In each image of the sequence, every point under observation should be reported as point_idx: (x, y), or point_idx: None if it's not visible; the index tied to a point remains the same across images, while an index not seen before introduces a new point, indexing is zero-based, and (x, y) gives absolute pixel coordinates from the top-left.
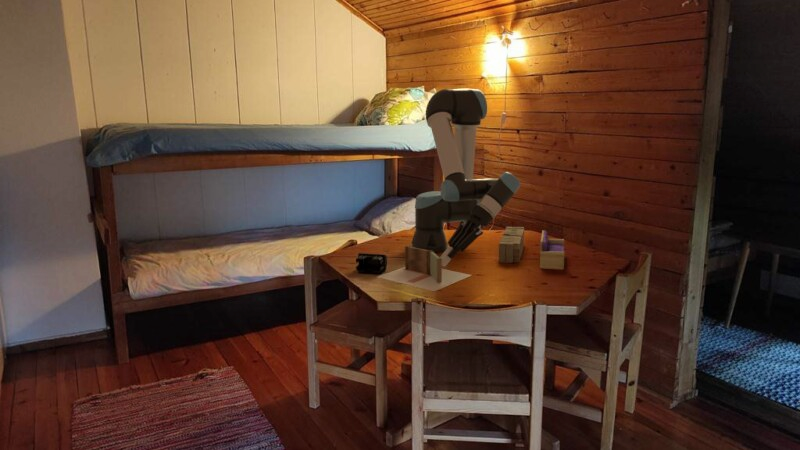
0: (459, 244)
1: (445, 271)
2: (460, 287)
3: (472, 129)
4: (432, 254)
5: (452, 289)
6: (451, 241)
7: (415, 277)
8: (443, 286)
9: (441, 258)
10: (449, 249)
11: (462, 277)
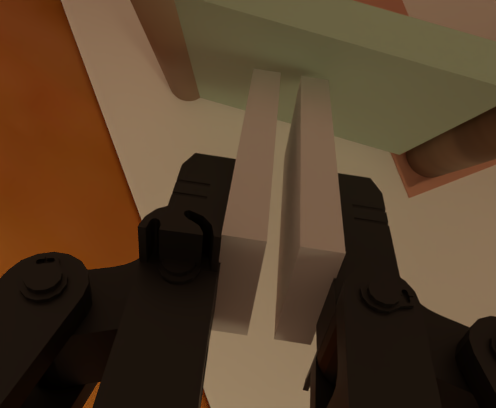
0: (21, 332)
1: (434, 308)
2: (35, 185)
3: None
4: (417, 22)
5: (30, 104)
6: (478, 396)
7: (414, 3)
8: (99, 65)
9: (272, 93)
10: (250, 196)
11: (213, 336)
